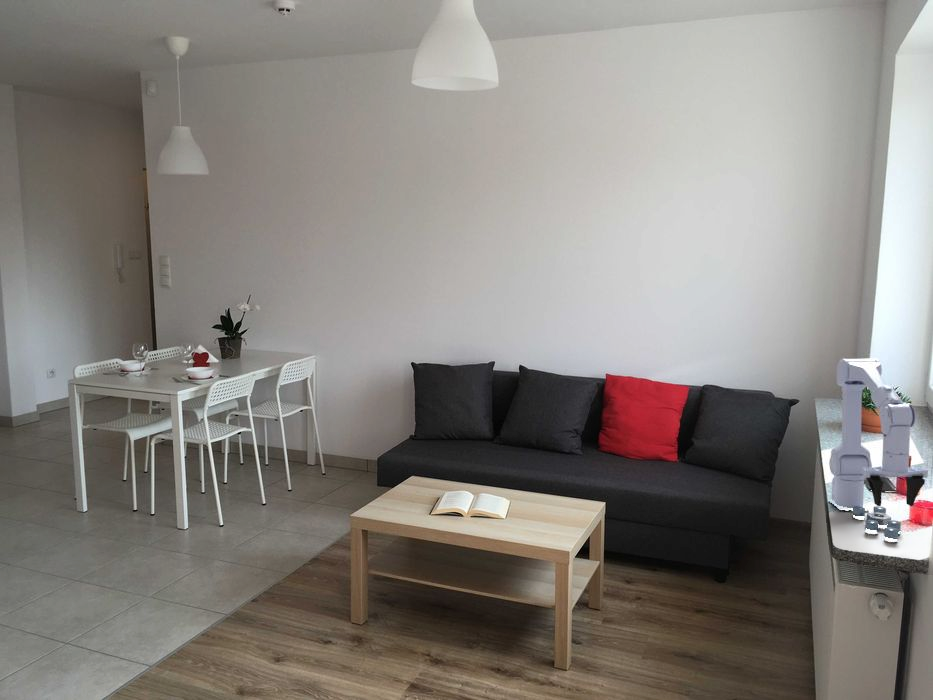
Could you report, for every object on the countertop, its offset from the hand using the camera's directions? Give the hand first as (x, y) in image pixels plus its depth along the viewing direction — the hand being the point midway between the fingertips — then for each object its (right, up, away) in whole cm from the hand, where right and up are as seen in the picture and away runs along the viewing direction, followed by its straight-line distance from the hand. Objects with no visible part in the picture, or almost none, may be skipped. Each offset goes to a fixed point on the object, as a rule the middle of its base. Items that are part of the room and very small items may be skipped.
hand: (893, 504), depth 190 cm
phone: (+23, -4, +49) cm, 54 cm away
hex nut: (+4, -9, +14) cm, 17 cm away
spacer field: (+3, -9, +11) cm, 14 cm away
